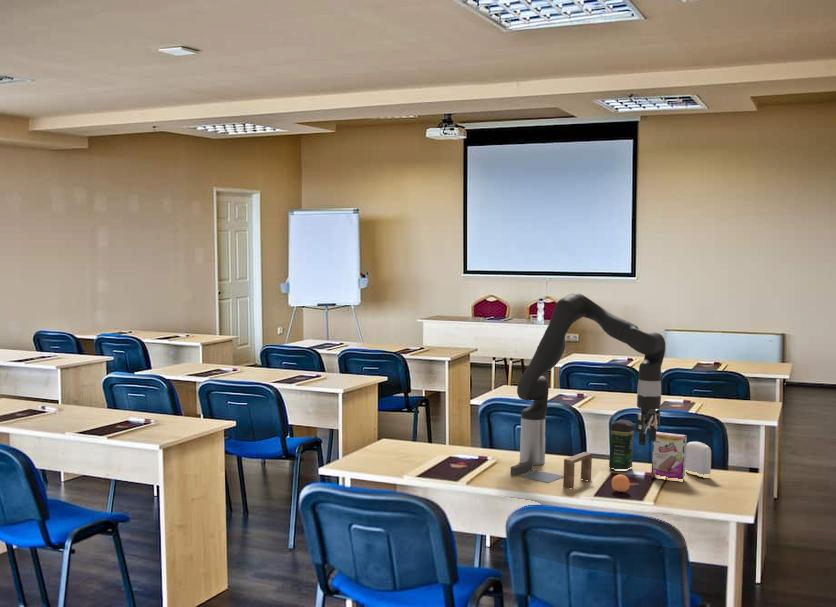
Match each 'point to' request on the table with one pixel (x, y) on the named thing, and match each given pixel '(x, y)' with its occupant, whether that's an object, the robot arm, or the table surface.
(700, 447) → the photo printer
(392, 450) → the table surface
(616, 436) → the coffee jar
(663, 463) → the candy bar box
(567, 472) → the bridge
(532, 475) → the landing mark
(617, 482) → the ball
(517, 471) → the stopper bar
